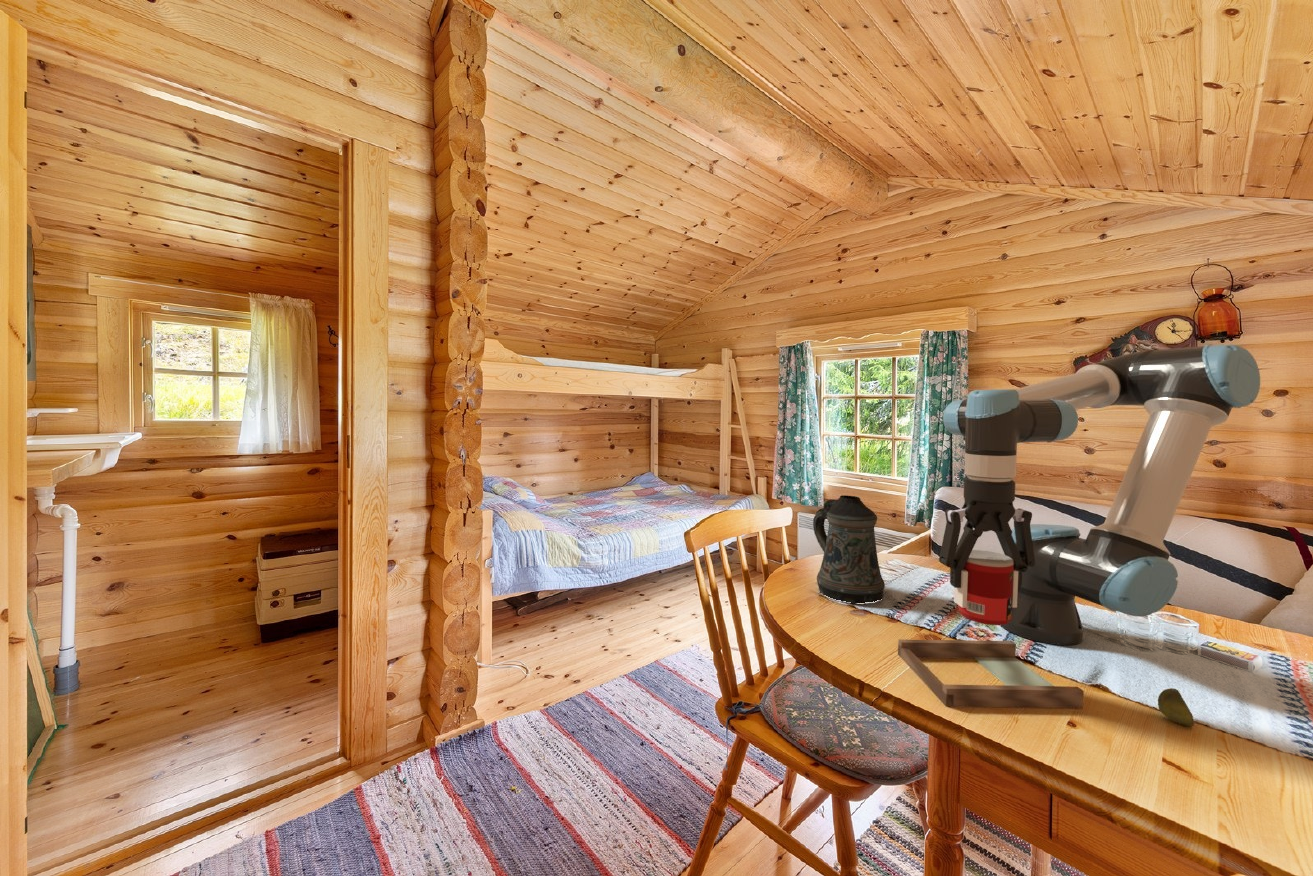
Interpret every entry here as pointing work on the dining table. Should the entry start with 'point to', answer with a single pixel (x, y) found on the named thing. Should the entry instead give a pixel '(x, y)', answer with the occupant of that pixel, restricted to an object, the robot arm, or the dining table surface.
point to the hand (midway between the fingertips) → (984, 604)
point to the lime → (1175, 707)
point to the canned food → (989, 588)
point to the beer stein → (848, 551)
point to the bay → (998, 660)
